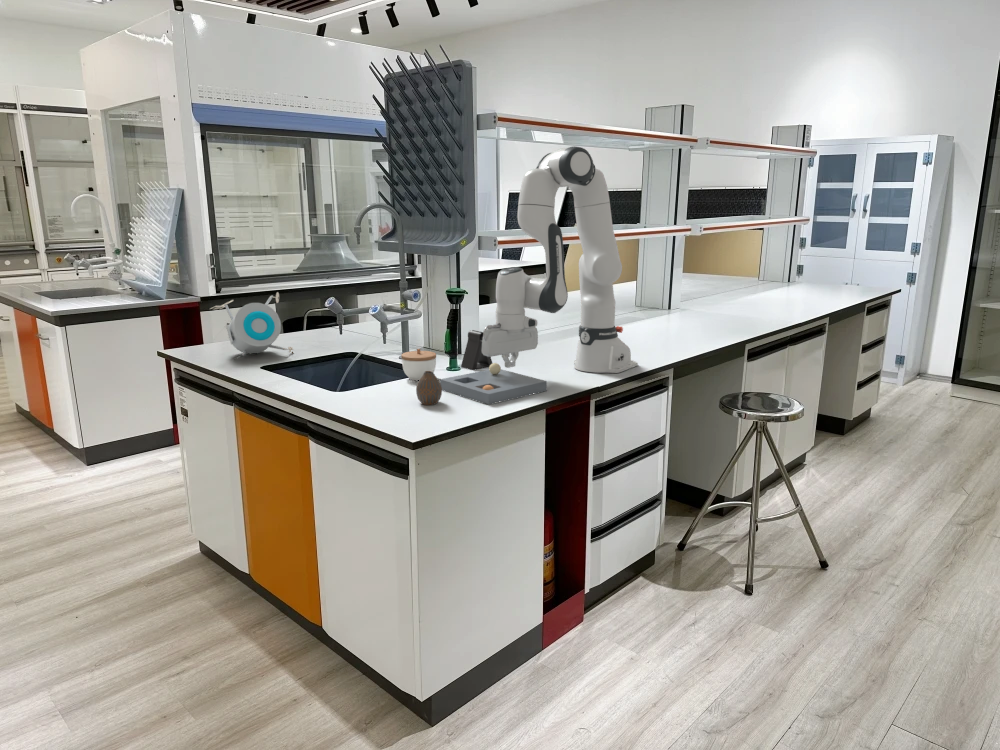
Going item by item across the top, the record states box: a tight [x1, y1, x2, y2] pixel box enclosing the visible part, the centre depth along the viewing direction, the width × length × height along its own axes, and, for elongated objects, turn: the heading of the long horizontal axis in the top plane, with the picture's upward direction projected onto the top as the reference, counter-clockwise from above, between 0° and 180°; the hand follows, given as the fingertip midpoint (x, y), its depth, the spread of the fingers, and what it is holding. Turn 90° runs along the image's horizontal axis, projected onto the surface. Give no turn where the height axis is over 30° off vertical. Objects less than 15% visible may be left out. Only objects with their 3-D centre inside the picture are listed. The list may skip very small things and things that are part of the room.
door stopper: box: [460, 329, 494, 371], centre depth 231 cm, size 9×6×12 cm, turn 131°
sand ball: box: [488, 362, 501, 375], centre depth 208 cm, size 4×4×4 cm
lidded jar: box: [400, 348, 437, 381], centre depth 215 cm, size 11×11×9 cm
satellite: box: [209, 291, 294, 359], centre depth 249 cm, size 23×20×25 cm
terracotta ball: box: [483, 385, 494, 390], centre depth 194 cm, size 4×4×4 cm
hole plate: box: [439, 368, 548, 405], centre depth 202 cm, size 22×22×3 cm
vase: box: [415, 371, 443, 406], centre depth 188 cm, size 7×7×9 cm
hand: (510, 366), depth 212 cm, fingers closed
